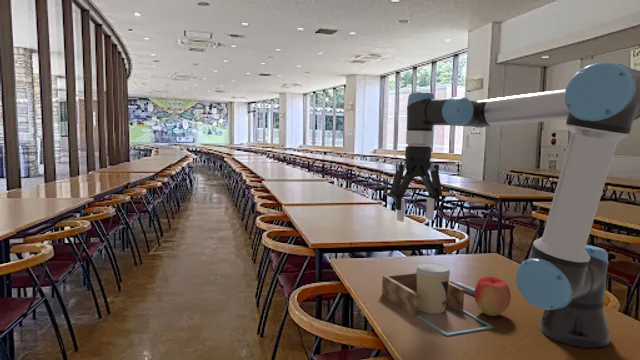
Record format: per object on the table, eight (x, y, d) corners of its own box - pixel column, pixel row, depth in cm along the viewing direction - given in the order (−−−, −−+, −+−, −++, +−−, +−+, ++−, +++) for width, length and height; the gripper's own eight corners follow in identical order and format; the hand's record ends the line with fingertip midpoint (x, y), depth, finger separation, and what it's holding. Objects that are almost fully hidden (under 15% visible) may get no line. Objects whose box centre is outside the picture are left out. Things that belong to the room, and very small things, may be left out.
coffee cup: (449, 316, 121) (451, 273, 120) (414, 312, 123) (416, 270, 121) (446, 304, 130) (449, 264, 129) (414, 300, 132) (416, 261, 131)
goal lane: (493, 328, 114) (493, 326, 114) (446, 336, 108) (446, 334, 108) (461, 310, 125) (461, 308, 125) (417, 316, 120) (417, 315, 120)
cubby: (463, 310, 126) (464, 289, 125) (415, 317, 120) (416, 295, 119) (425, 289, 142) (426, 271, 142) (381, 294, 136) (382, 275, 136)
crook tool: (498, 303, 132) (498, 297, 132) (482, 307, 128) (482, 301, 128) (453, 285, 147) (453, 280, 147) (437, 288, 144) (437, 282, 144)
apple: (465, 309, 126) (467, 275, 125) (492, 306, 129) (494, 272, 128) (489, 323, 117) (492, 286, 116) (517, 319, 120) (520, 283, 119)
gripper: (441, 146, 139) (438, 216, 141) (379, 144, 131) (376, 219, 133) (457, 146, 132) (453, 220, 134) (392, 145, 124) (389, 224, 126)
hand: (415, 220), depth 133 cm, fingers open, 10 cm apart
